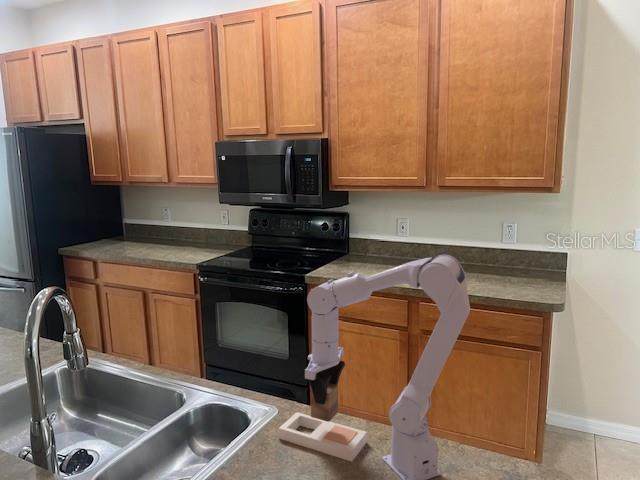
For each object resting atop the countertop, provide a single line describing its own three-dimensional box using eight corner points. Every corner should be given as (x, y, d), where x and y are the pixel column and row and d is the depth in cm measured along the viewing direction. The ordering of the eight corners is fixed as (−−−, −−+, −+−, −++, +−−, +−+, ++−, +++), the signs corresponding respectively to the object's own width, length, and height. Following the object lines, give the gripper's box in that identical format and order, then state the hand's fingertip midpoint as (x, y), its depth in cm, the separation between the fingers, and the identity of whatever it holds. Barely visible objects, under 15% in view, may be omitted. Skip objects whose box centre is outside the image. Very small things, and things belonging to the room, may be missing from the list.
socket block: (366, 442, 105) (366, 431, 104) (351, 461, 98) (352, 449, 97) (296, 421, 113) (296, 411, 113) (278, 438, 106) (278, 427, 106)
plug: (337, 412, 105) (338, 385, 104) (328, 421, 101) (329, 393, 100) (320, 408, 107) (320, 381, 106) (310, 416, 103) (310, 388, 103)
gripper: (324, 326, 110) (324, 381, 112) (291, 346, 97) (292, 408, 99) (352, 330, 107) (351, 387, 109) (322, 352, 94) (322, 416, 96)
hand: (325, 398), depth 104 cm, fingers closed on plug, 4 cm apart
